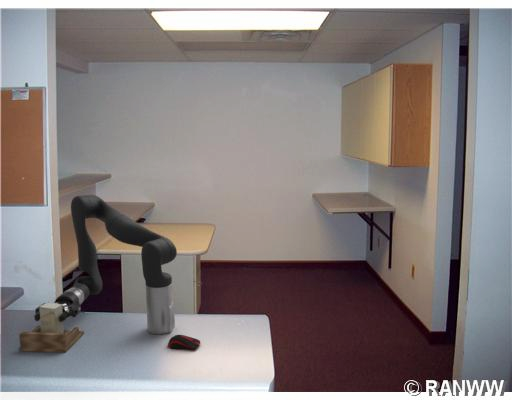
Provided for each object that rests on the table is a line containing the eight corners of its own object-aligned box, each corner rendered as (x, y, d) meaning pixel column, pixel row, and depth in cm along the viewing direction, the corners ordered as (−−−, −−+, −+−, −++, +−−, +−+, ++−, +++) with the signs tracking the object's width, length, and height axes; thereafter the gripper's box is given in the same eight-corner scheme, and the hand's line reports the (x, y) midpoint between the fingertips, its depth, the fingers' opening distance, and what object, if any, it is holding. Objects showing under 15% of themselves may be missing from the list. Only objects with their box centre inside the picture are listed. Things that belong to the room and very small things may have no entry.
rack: (84, 333, 177) (83, 317, 176) (65, 352, 163) (64, 335, 162) (40, 331, 178) (39, 316, 177) (19, 350, 164) (17, 333, 163)
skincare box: (40, 340, 169) (38, 306, 167) (49, 334, 174) (47, 301, 171) (56, 342, 168) (54, 308, 166) (65, 337, 172) (62, 303, 170)
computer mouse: (197, 352, 164) (196, 341, 163) (165, 349, 166) (165, 338, 165) (202, 343, 170) (202, 332, 169) (171, 341, 172) (171, 330, 171)
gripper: (50, 290, 183) (26, 307, 167) (88, 291, 182) (67, 309, 166) (52, 309, 184) (28, 328, 168) (89, 311, 183) (69, 330, 167)
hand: (48, 318), depth 167 cm, fingers open, 8 cm apart
